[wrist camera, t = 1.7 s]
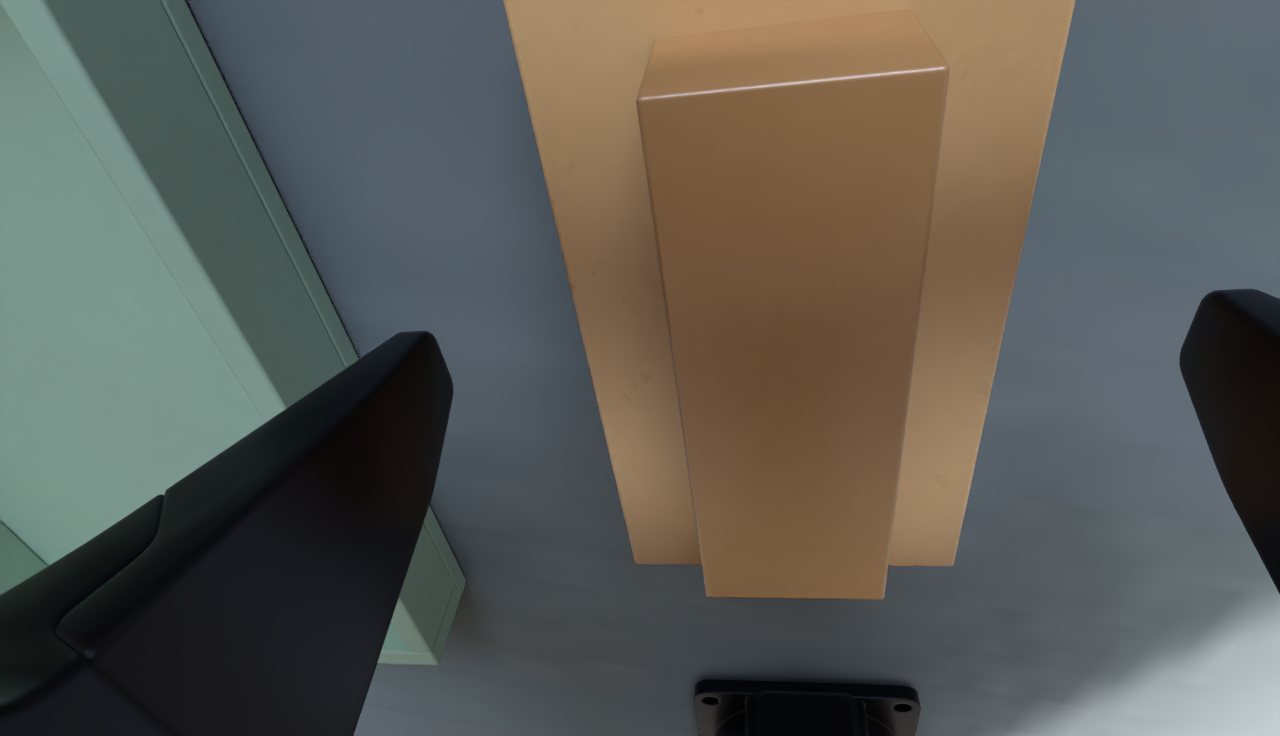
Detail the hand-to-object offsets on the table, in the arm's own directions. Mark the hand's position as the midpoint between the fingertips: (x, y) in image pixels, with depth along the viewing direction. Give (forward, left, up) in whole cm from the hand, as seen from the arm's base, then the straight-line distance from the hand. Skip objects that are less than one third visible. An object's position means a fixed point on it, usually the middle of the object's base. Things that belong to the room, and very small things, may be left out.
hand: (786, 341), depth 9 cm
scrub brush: (0, 0, -4) cm, 4 cm away
